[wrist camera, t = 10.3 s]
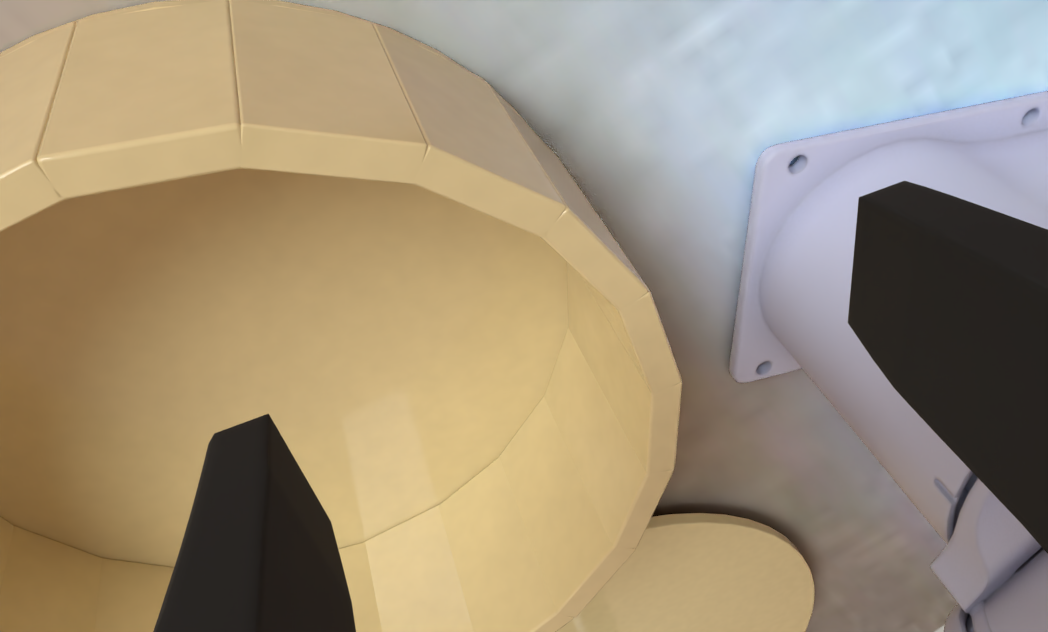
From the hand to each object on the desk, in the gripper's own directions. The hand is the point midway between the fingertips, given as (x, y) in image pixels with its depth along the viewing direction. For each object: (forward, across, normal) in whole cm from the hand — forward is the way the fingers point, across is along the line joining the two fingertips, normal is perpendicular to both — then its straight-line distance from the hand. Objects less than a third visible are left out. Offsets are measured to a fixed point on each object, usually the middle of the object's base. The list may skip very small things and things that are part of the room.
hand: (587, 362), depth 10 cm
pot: (+10, +6, +6) cm, 13 cm away
